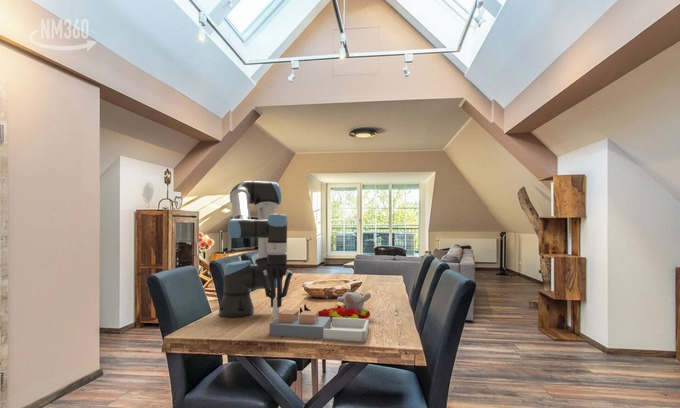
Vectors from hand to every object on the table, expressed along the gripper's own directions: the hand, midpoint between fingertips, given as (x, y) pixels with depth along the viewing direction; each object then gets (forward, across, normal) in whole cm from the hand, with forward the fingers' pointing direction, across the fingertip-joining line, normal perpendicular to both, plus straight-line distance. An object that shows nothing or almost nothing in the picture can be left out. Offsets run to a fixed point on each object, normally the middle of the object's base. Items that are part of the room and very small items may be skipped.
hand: (275, 315), depth 138 cm
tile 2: (+1, +13, 0) cm, 13 cm away
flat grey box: (+5, +10, 0) cm, 11 cm away
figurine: (+6, +19, +21) cm, 29 cm away
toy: (+6, +25, +36) cm, 44 cm away
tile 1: (+1, +5, 0) cm, 5 cm away
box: (+6, +28, +1) cm, 28 cm away
